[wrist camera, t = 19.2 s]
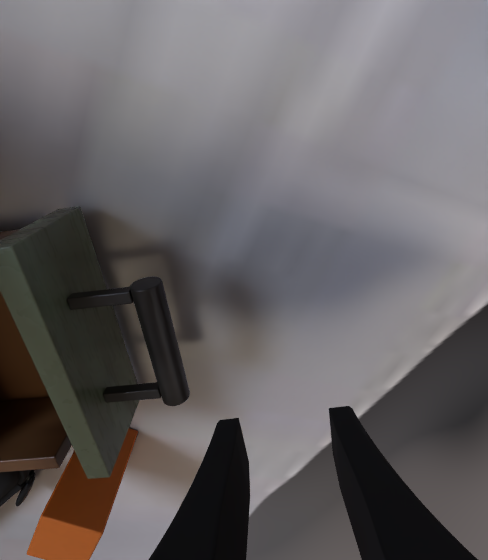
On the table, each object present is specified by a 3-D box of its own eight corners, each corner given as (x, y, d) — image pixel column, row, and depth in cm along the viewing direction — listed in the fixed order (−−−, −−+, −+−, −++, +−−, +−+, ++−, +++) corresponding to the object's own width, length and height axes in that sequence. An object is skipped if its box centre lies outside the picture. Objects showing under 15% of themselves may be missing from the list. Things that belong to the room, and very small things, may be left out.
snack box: (78, 450, 27) (25, 555, 21) (92, 414, 26) (40, 516, 19) (122, 464, 28) (83, 570, 21) (138, 430, 26) (102, 534, 20)
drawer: (164, 195, 18) (128, 232, 13) (207, 389, 23) (194, 471, 18) (-148, 235, 19) (-299, 283, 14) (-40, 410, 24) (-120, 494, 19)
